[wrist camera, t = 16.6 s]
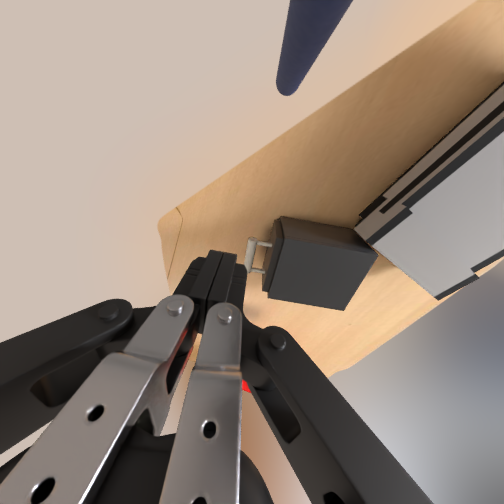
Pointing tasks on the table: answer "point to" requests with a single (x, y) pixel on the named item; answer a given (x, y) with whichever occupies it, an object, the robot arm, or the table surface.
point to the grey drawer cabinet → (319, 264)
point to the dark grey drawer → (271, 254)
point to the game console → (446, 206)
